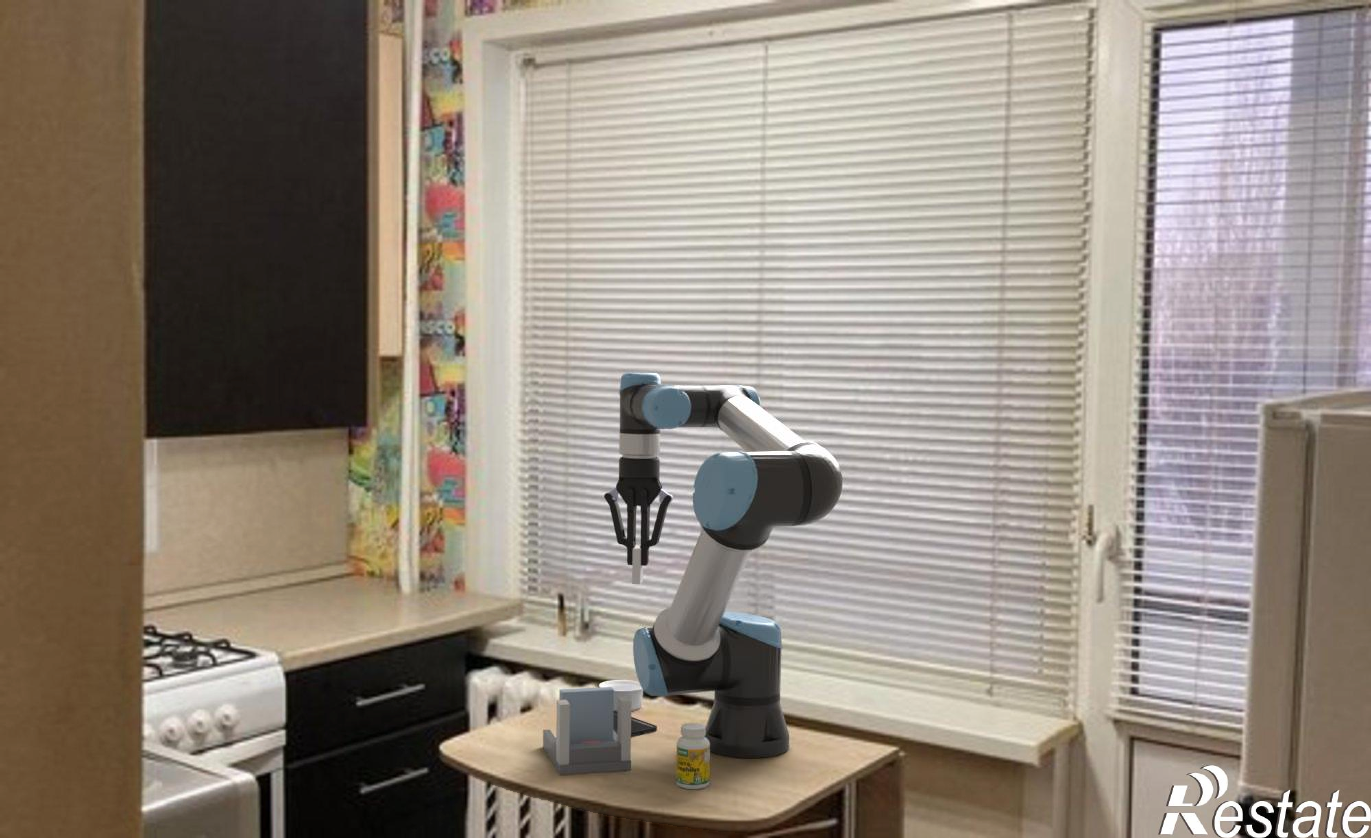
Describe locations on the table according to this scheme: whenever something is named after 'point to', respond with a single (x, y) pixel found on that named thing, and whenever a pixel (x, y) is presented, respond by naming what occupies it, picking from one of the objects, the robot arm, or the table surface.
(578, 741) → the blue-grey rectangular panel
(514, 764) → the table surface
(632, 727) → the phone
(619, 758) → the housing
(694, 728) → the supplement bottle
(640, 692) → the ramekin
